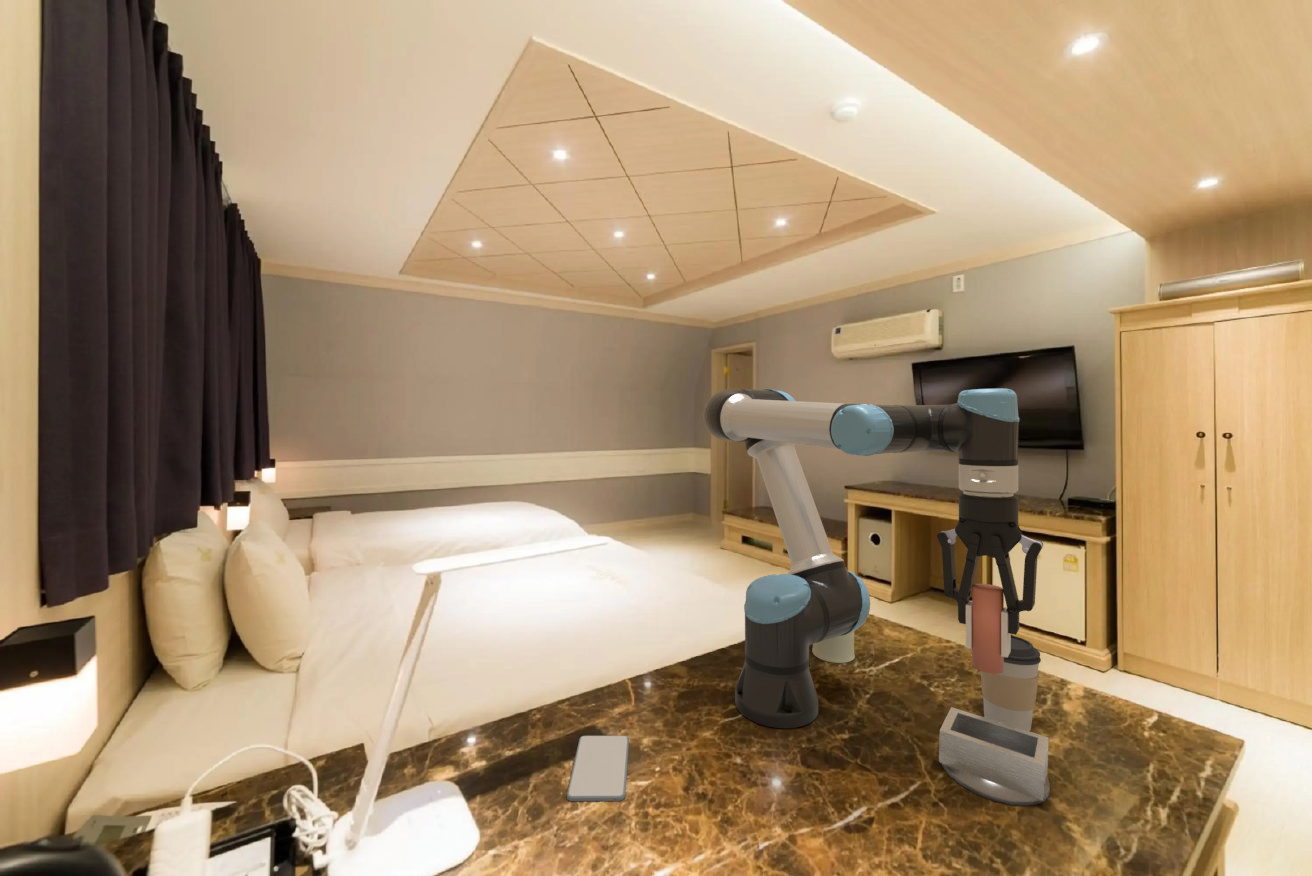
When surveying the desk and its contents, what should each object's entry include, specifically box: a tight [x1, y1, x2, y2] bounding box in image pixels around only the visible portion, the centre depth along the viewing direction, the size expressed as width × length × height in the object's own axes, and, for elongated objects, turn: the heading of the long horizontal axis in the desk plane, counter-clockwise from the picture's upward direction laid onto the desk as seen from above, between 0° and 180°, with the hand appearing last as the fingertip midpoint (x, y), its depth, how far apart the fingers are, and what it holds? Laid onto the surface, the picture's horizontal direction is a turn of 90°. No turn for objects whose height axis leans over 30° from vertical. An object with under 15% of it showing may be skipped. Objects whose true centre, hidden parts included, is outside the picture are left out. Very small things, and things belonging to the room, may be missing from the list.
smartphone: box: [566, 735, 630, 802], centre depth 83 cm, size 8×1×15 cm
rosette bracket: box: [938, 707, 1051, 807], centre depth 81 cm, size 14×14×6 cm
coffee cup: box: [980, 634, 1042, 732], centre depth 94 cm, size 9×9×15 cm
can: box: [811, 630, 856, 664], centre depth 121 cm, size 9×9×12 cm
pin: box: [971, 583, 1005, 674], centre depth 79 cm, size 4×4×12 cm
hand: (987, 649), depth 80 cm, fingers closed on pin, 4 cm apart
